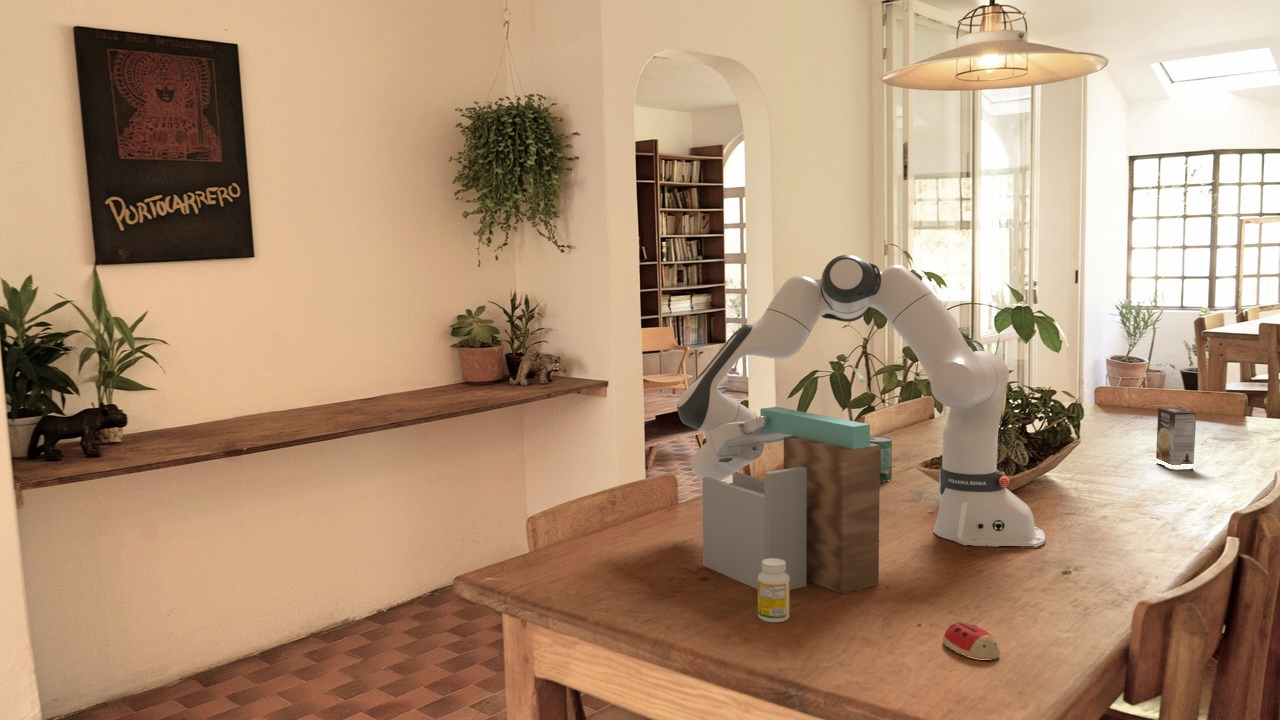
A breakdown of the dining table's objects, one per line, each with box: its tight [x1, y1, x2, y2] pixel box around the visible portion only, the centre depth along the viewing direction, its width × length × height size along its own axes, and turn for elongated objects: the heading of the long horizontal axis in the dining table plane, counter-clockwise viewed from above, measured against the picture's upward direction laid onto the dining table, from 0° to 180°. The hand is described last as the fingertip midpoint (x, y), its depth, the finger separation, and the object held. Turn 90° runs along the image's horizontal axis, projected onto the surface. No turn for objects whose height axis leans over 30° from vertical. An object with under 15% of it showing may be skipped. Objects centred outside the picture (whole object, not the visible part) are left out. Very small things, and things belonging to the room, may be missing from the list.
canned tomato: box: [870, 435, 893, 483], centre depth 265 cm, size 8×8×11 cm
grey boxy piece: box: [701, 467, 807, 591], centre depth 186 cm, size 20×8×22 cm, turn 32°
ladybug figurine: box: [942, 622, 1001, 659], centre depth 151 cm, size 7×10×4 cm
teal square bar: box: [759, 406, 871, 449], centre depth 187 cm, size 26×4×4 cm, turn 32°
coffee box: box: [1155, 406, 1197, 465], centre depth 273 cm, size 9×6×16 cm
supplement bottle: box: [757, 558, 791, 623], centre depth 165 cm, size 5×5×10 cm
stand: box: [783, 436, 881, 595], centre depth 184 cm, size 16×9×26 cm, turn 32°
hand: (779, 417), depth 195 cm, fingers open, 6 cm apart
